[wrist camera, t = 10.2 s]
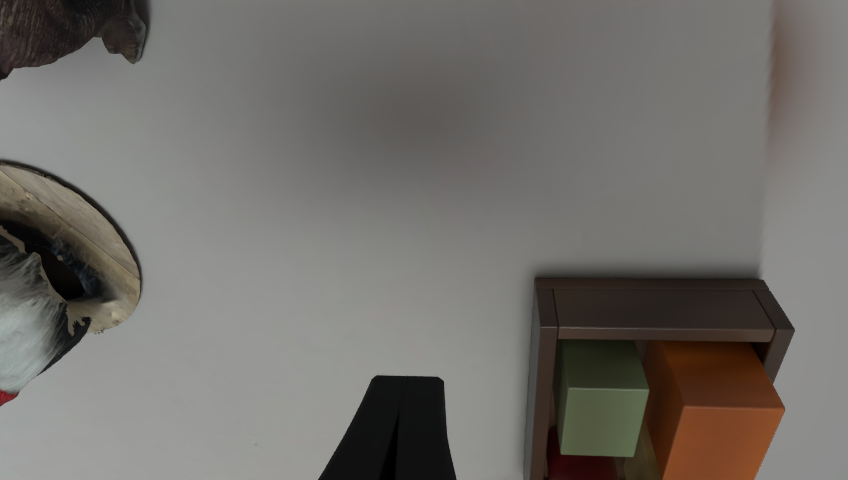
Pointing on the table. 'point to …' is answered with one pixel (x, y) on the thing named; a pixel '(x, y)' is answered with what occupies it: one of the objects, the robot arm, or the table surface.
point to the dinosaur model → (65, 30)
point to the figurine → (29, 286)
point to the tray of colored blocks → (652, 379)
